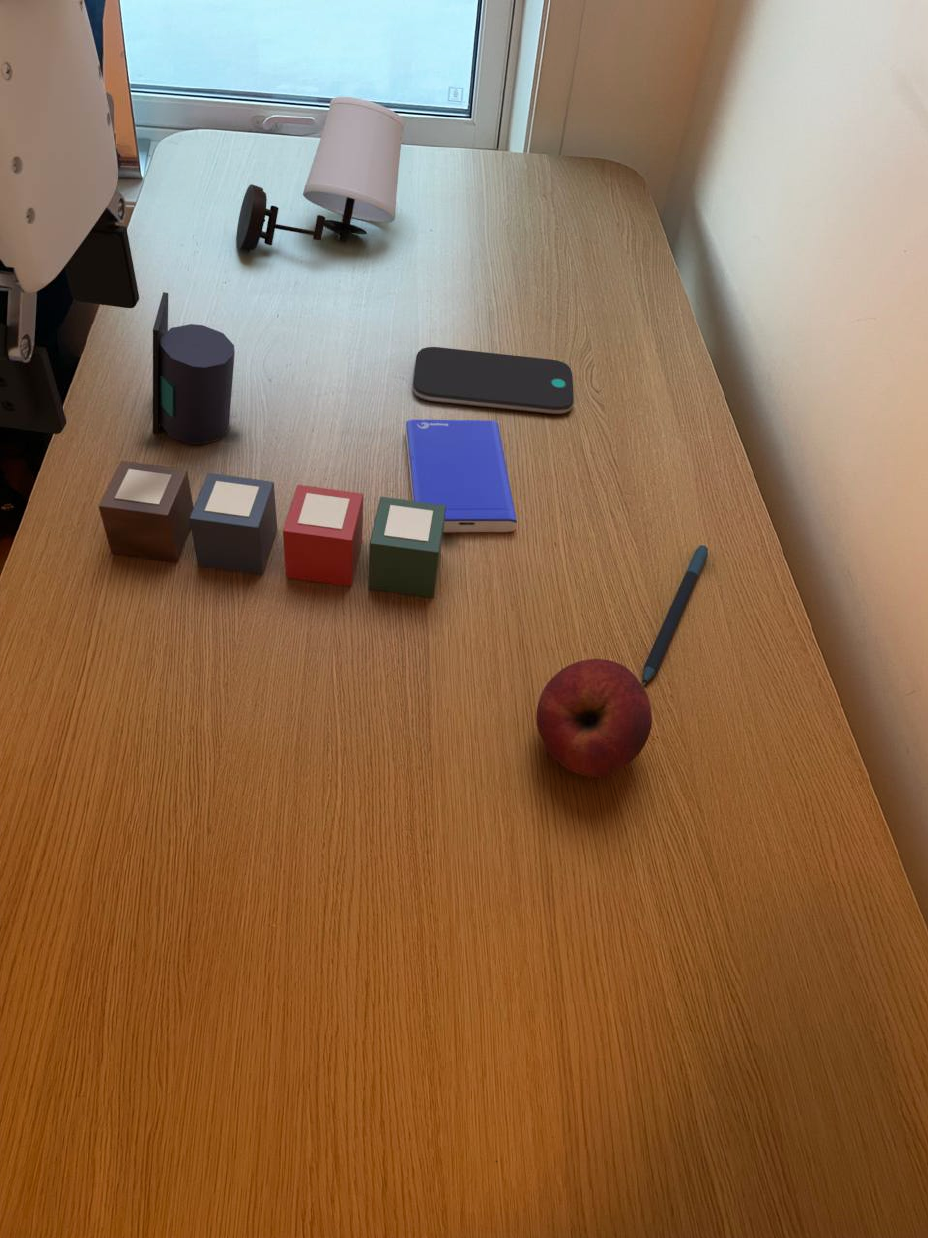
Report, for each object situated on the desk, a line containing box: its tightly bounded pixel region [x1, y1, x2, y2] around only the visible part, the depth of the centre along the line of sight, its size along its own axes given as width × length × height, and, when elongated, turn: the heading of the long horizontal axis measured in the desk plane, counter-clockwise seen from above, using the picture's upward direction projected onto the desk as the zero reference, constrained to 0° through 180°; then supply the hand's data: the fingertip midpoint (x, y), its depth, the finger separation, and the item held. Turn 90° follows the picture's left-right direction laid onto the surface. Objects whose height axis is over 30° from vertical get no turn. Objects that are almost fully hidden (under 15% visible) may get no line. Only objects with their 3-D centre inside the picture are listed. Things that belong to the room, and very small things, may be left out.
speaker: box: [152, 291, 236, 445], centre depth 77 cm, size 8×6×10 cm
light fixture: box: [235, 96, 405, 253], centre depth 100 cm, size 10×16×17 cm
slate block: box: [189, 472, 278, 575], centre depth 70 cm, size 5×5×5 cm
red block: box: [282, 484, 364, 587], centre depth 70 cm, size 5×5×5 cm
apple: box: [536, 658, 653, 778], centre depth 61 cm, size 7×8×8 cm
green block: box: [368, 496, 446, 599], centre depth 70 cm, size 5×5×5 cm
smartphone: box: [412, 346, 575, 415], centre depth 88 cm, size 8×1×15 cm
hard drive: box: [404, 418, 518, 533], centre depth 79 cm, size 2×8×12 cm
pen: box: [642, 544, 709, 686], centre depth 72 cm, size 1×16×1 cm, turn 155°
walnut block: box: [98, 460, 194, 564], centre depth 70 cm, size 5×5×5 cm
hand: (70, 359), depth 43 cm, fingers open, 9 cm apart
